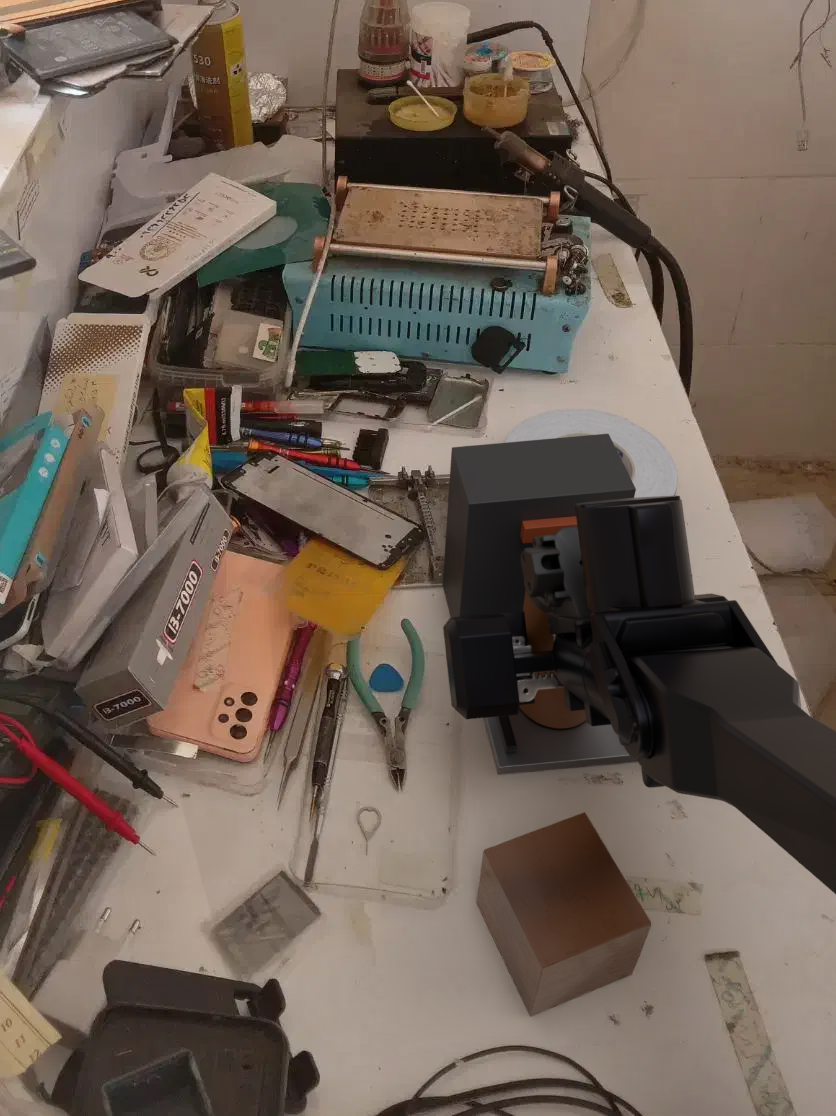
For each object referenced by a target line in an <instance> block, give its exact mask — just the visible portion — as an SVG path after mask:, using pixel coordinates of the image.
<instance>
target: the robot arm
mask: <svg viewBox="0 0 836 1116" xmlns="http://www.w3.org/2000/svg"><path fill="white" fill-rule="evenodd" d="M575 511H576V519H577V526H573V527H565V528H562V529H560V530H559V531H558V532H557V533H556V534H553V535H543V536H539V537H533V541H532V542H533V547H532V548H525V549H524V551H523V552H522V554H521V566H522V571H523V576H524V581H525V586H526V591H527V593H528V595H529V596H530V597H542V598H543V599H544V601H545V605H546V607H547V608H551V607H554V612H547V616H548V624H549V631H550V633H551V634H553V643H554V645H553V650H551V651H540V652H532V646H531V645H529V644H528V639H527V630H526V622H525V613H524V611H521V612H510V613H499V614H484V615H473V616H462V617H452V618H451V617H449V618H448V620H447V621H446V623H445V624H444V625H443V626H442V630H443V639H444V649H445V658H446V667H447V677H448V685H449V695H450V702H451V703H450V705H451V707H452V708H453V709H454V710H455V712H457V713H458V714H459V715H460V716H461V717H463V718H464V719H465V720H467V721H468V720H477V719H483V718H488V717H499V716H509V715H518V711H519V705H524V704H534V703H535V698H534V697H535V695H536V693H537V691H538V690H542V689H553V688H563V687H564V693H565V701H566V708H567V709H569V710H570V711H577V710H585V714H586V722H587V723H588V724H589V725H591V726H601V725H612V728H613V730H614V732H615V733H616V734H617V735H618V736H619V741H620V744H621V745H624V747H625V749H626V751H627V753H628V754H629V755H630V756H631V757H633V758H637V760H638V762H637V763H638V764H639V766H640V769H641V776H642V777H641V778H642V782H643V785H644V786H645V787H647V788H648V789H651V788H652V789H653V788H661V787H666V788H668V789H670V790H671V791H673V792H675V793H677V794H681V795H687V796H693V797H698V798H705V799H711V800H717V801H721V802H724V803H726V804H728V805H730V806H732V807H734V808H735V809H736V810H738V811H739V812H740V813H741V814H742V815H743V816H745V817H746V818H747V819H748V820H749V821H751V822H752V824H754V825H755V826H756V827H757V828H759V829H760V830H761V831H762V832H763V833H764V834H765V835H766V836H768V837H769V838H770V839H771V840H772V841H773V842H775V844H776V845H778V846H779V847H780V848H781V849H783V850H784V851H785V852H786V853H787V854H788V855H789V856H790V857H792V858H793V859H794V860H795V861H796V862H797V863H799V864H800V865H801V866H802V867H803V868H804V869H806V870H807V871H808V872H809V873H810V874H811V875H813V876H814V877H815V878H816V879H817V880H818V881H819V882H820V883H822V884H823V886H825V887H827V888H828V889H829V890H830V891H831V892H832V893H833V894H834V895H836V730H835V729H833V728H832V727H830V726H828V725H827V724H824V723H823V722H821V721H819V719H816V718H814V717H813V716H811V715H809V714H808V713H807V712H806V711H805V710H804V709H802V701H801V692H800V691H801V690H800V683H799V681H798V680H797V679H796V678H795V677H793V675H791V674H790V673H789V672H787V671H786V670H785V669H784V668H783V667H781V666H780V665H779V664H778V661H776V659H775V658H774V656H773V654H772V652H770V650H769V648H768V647H767V645H766V644H765V642H764V641H763V639H762V638H761V636H760V634H759V633H758V632H757V630H756V628H755V627H754V625H753V624H752V622H751V621H750V619H749V618H748V616H747V615H746V613H745V611H744V610H743V608H742V607H741V605H740V604H739V602H738V601H737V600H736V599H732V600H731V599H730V600H729V599H727V598H726V597H725V596H724V595H720V594H715V593H702V594H695V588H694V587H695V586H694V580H693V571H692V565H691V557H690V551H689V545H688V537H687V529H686V521H685V515H684V514H685V513H684V507H683V499H681V496H680V495H675V496H656V497H639V498H625V499H613V500H602V501H592V502H584V503H577V504H575ZM543 671H555V674H556V675H554V673H553V672H550V676H549V675H548V673H547V672H544V676H542V674H541V673H538V677H536V675H535V672H543Z"/></svg>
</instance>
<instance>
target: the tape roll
mask: <svg viewBox="0 0 836 1116" xmlns="http://www.w3.org/2000/svg"><path fill="white" fill-rule="evenodd" d="M597 434H609V435H610V437H611V440H612V442H613V444H614V446H615V448H616V450H617V452H618V454H619V456H620V458H621V460H622V462H623V464H624V466H625V468H626V470H627V472H628V474H629V476H630V478H631V480H632V482H633V484H634V486H635V488H636V492H635V496H634V498H639V497H656V496H677V495H676V494H677V491H678V486H679V485H678V484H679V473H678V469H677V466H676V463H675V461H674V458H673V456H672V455H671V453H670V451H669V450H668V449H667V448H666V446H665V445H664V443H662V442H661V440H659V438H657V437H656V436H655V435H654V434H653V433H651V432H650V431H648V430H647V429H645V427H642V426H641V425H639V424H638V423H636V422H634V421H632V420H630V419H628V418H626V417H624V416H621V415H618V414H614V413H611V412H608V411H602V410H597V409H591V408H561V409H553V410H548V411H544V412H541V413H537V414H535V415H533V416H530V417H528V418H525V419H524V420H523V421H521V422H519V423H518V424H516V426H515V427H513V429H511V431H509V432H508V433H507V435H506V437H505V440H504V441H503V443H507V442H518V441H530V440H541V439H552V438H563V437H575V436H586V435H597Z"/></svg>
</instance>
